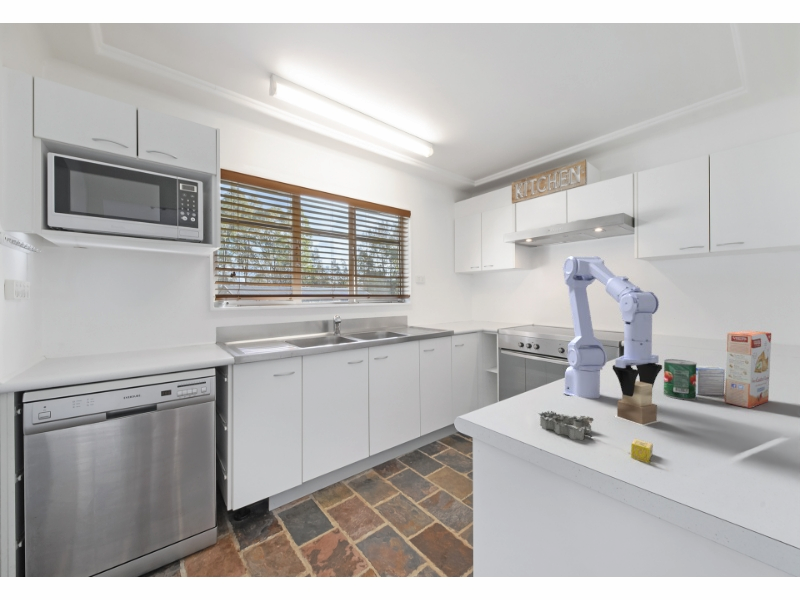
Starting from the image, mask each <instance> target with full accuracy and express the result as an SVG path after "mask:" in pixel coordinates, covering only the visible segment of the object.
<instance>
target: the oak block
mask: <svg viewBox="0 0 800 600" xmlns="http://www.w3.org/2000/svg"><path fill="white" fill-rule="evenodd" d="M621 394H622V397H621V398H622V399H621V400H622V402H626V403H629V404H633V405H636V406H640V407H642V406H647V405H651V404H653V388H652V384H648V383H644V382H640V380H636V381H635V387H634V394H633V396H632V397H630V396H627V395H623V393H621Z"/></svg>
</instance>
